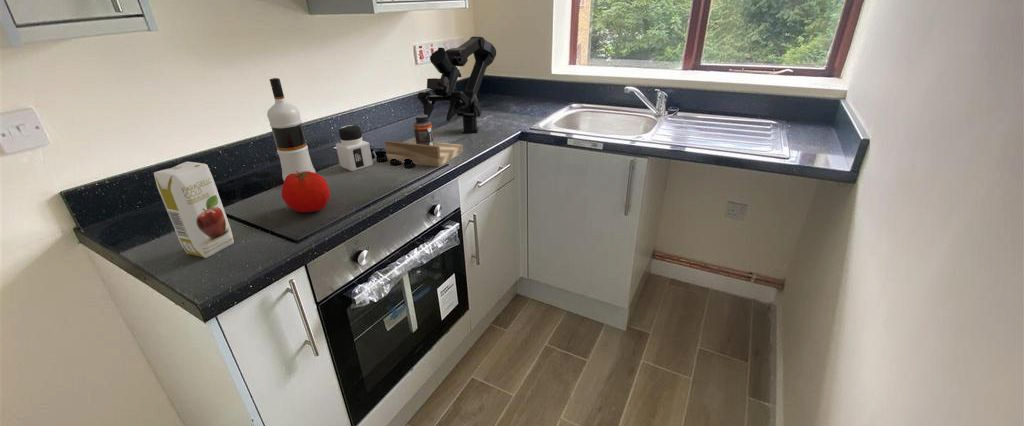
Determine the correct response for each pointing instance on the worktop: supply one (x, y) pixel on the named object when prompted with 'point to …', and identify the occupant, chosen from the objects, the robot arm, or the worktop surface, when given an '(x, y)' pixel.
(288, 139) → the vodka
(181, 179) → the juice carton
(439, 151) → the wooden block
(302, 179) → the tomato
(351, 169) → the container
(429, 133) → the supplement bottle
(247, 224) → the worktop surface
